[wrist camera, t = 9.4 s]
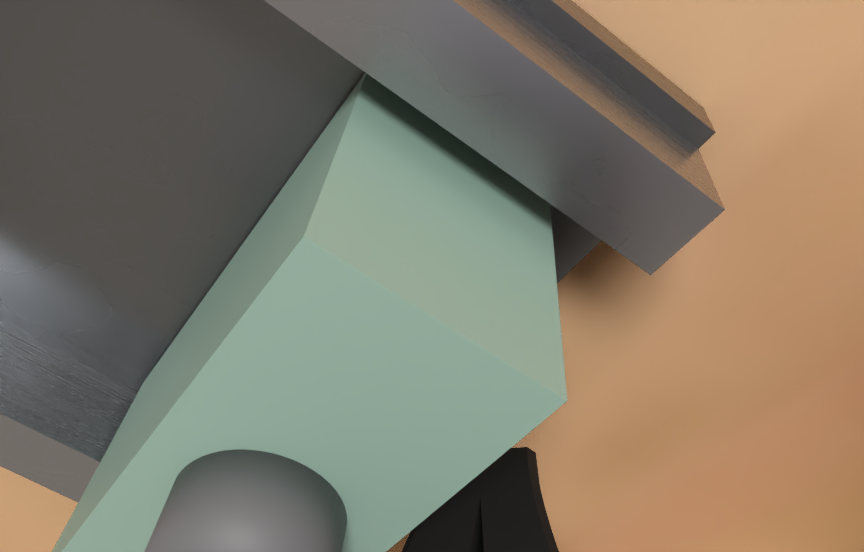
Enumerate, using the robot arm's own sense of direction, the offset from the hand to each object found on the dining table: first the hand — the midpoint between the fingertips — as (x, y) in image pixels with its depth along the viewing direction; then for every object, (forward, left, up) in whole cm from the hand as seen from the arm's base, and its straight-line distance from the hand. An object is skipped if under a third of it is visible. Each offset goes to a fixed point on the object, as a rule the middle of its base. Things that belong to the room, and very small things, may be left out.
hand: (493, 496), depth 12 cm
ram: (+3, 0, -2) cm, 4 cm away
